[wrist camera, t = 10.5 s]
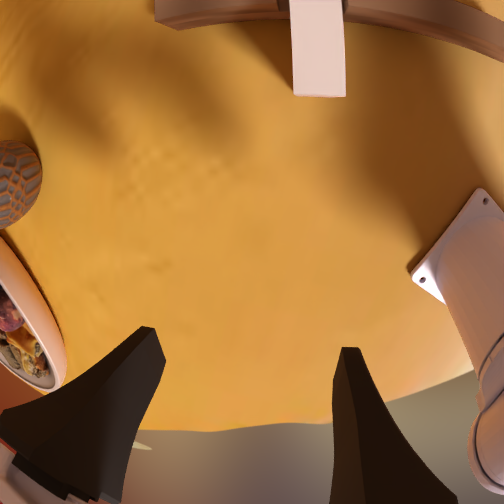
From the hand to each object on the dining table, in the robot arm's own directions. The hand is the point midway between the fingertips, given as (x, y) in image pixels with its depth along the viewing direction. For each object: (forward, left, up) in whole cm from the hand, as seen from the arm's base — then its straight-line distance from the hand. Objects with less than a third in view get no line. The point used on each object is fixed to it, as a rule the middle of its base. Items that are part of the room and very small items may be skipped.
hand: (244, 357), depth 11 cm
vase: (+21, +5, -10) cm, 24 cm away
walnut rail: (+3, -15, -9) cm, 18 cm away
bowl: (+28, +28, -10) cm, 41 cm away
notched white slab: (+5, -14, -9) cm, 18 cm away
